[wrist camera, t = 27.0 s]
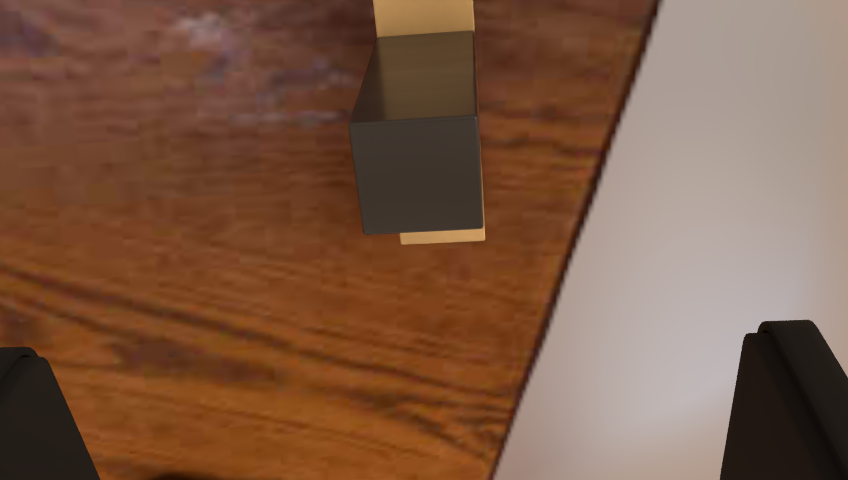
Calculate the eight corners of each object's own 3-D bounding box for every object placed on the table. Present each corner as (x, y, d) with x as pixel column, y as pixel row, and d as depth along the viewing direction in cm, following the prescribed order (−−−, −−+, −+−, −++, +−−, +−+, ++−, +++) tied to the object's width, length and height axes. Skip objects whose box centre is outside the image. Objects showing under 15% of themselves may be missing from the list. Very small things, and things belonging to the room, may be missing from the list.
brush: (369, -135, 24) (317, -87, 16) (466, -144, 24) (467, -99, 15) (405, 205, 30) (383, 375, 22) (483, 201, 30) (491, 371, 21)
